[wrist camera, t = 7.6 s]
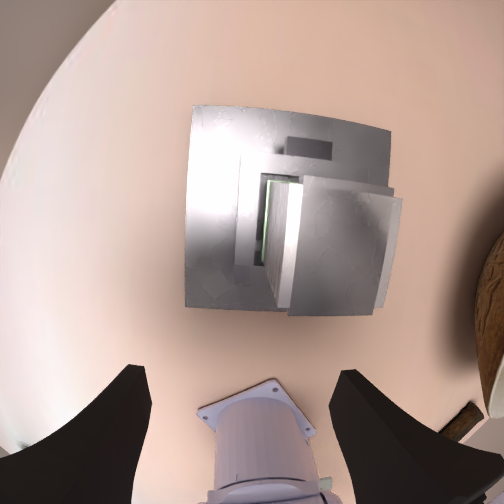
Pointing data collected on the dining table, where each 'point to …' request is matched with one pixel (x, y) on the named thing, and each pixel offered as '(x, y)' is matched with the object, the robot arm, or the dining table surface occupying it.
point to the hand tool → (463, 423)
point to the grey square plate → (258, 190)
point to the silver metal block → (329, 245)
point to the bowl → (491, 329)
